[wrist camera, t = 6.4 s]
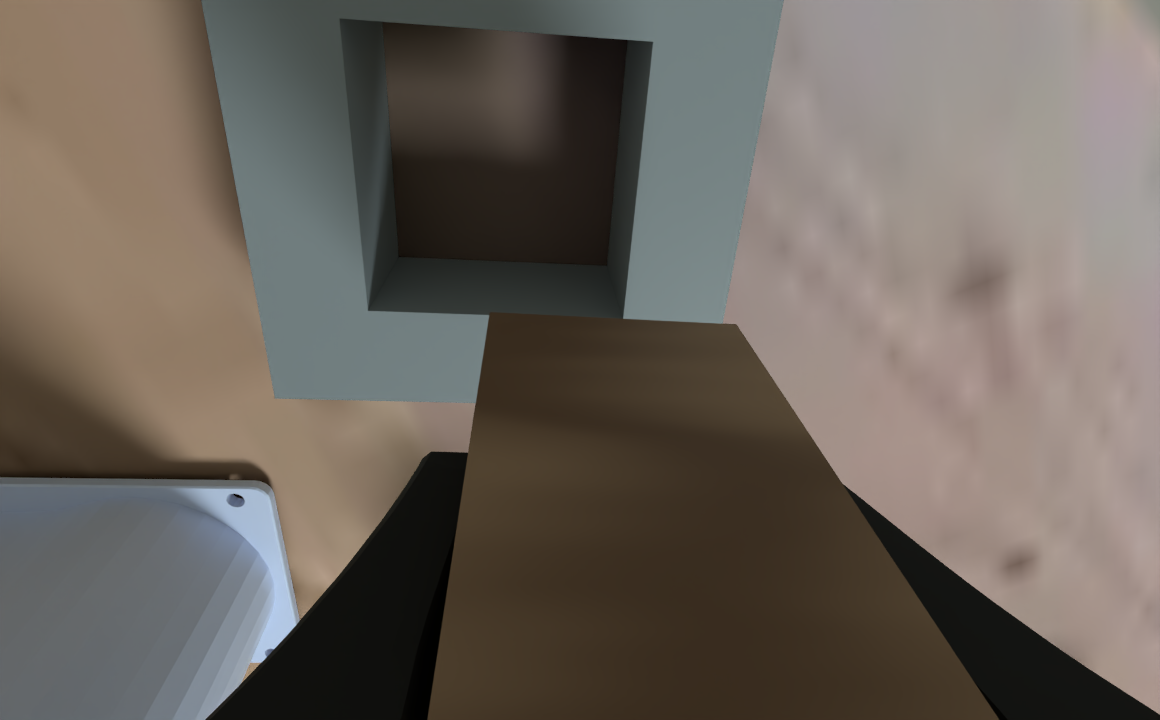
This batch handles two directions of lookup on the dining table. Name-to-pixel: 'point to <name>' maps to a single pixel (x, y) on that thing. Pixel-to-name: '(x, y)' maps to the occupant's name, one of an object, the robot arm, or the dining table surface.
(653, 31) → the socket block
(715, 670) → the square peg
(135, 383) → the dining table surface
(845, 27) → the dining table surface
